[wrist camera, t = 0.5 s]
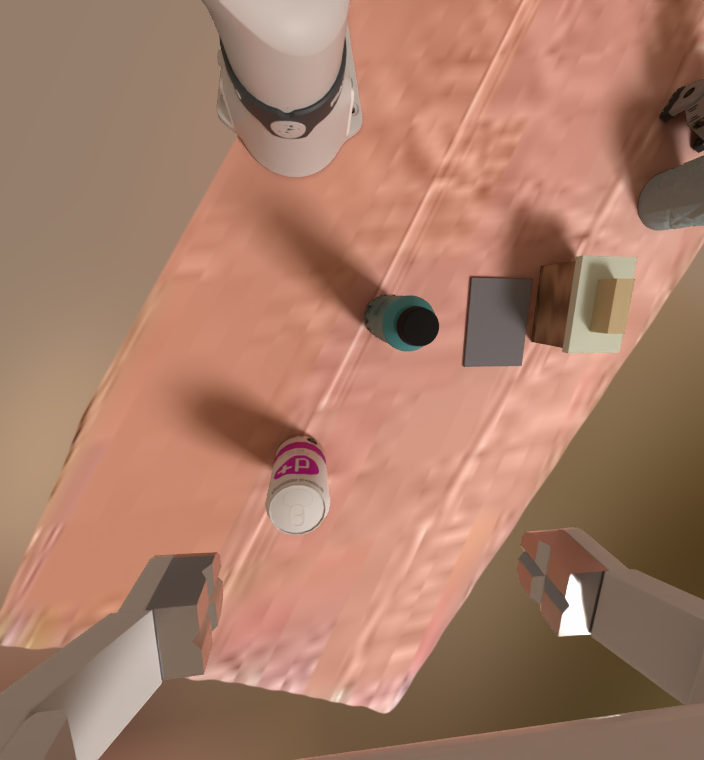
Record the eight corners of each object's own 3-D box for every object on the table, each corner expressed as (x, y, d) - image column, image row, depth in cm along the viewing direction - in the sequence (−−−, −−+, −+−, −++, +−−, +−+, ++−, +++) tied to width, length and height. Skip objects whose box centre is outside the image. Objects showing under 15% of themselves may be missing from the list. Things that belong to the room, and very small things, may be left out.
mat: (471, 278, 54) (472, 277, 54) (530, 279, 55) (532, 278, 55) (463, 366, 57) (464, 366, 57) (520, 365, 58) (521, 365, 58)
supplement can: (275, 434, 56) (263, 481, 41) (326, 434, 57) (332, 480, 42) (275, 479, 58) (263, 540, 43) (324, 479, 59) (329, 538, 44)
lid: (576, 256, 47) (601, 252, 43) (629, 258, 48) (659, 254, 44) (562, 351, 50) (584, 356, 46) (612, 351, 51) (638, 355, 47)
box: (541, 266, 55) (579, 260, 47) (581, 267, 56) (625, 261, 48) (531, 341, 58) (565, 348, 50) (570, 341, 58) (609, 348, 51)
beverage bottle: (410, 308, 54) (466, 313, 35) (388, 345, 55) (431, 371, 35) (374, 286, 52) (412, 279, 33) (353, 325, 53) (377, 340, 34)
